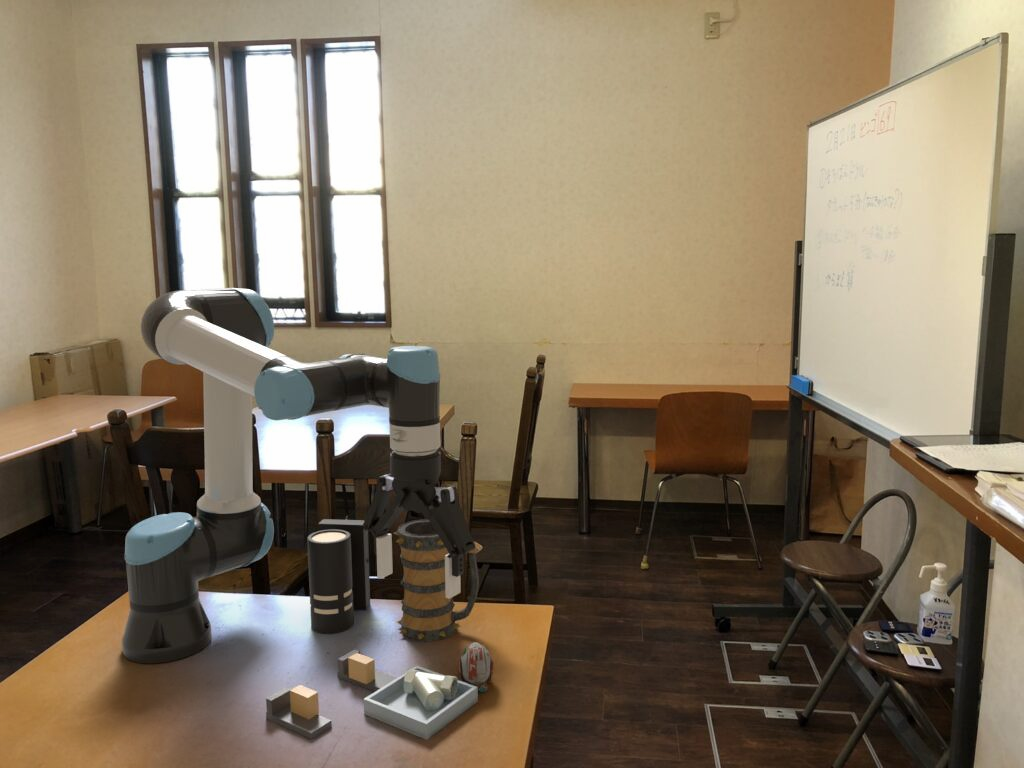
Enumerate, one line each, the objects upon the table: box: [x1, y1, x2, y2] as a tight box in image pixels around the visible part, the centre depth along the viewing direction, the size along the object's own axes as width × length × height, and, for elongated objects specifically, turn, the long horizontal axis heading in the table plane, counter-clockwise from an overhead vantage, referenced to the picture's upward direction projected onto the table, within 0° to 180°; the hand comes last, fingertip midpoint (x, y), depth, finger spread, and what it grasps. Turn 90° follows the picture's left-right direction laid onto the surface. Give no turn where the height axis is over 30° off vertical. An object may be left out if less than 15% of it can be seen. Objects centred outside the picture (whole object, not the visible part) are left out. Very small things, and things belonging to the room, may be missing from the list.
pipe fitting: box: [403, 669, 459, 711], centre depth 130 cm, size 8×4×7 cm
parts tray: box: [363, 665, 479, 741], centre depth 129 cm, size 13×13×2 cm
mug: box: [393, 518, 484, 642], centre depth 155 cm, size 13×17×20 cm
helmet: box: [457, 641, 495, 693], centre depth 136 cm, size 6×8×7 cm
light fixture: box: [306, 518, 371, 635], centre depth 160 cm, size 10×14×18 cm
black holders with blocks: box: [265, 649, 397, 740], centre depth 131 cm, size 10×19×4 cm, turn 146°
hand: (418, 585), depth 126 cm, fingers open, 13 cm apart
